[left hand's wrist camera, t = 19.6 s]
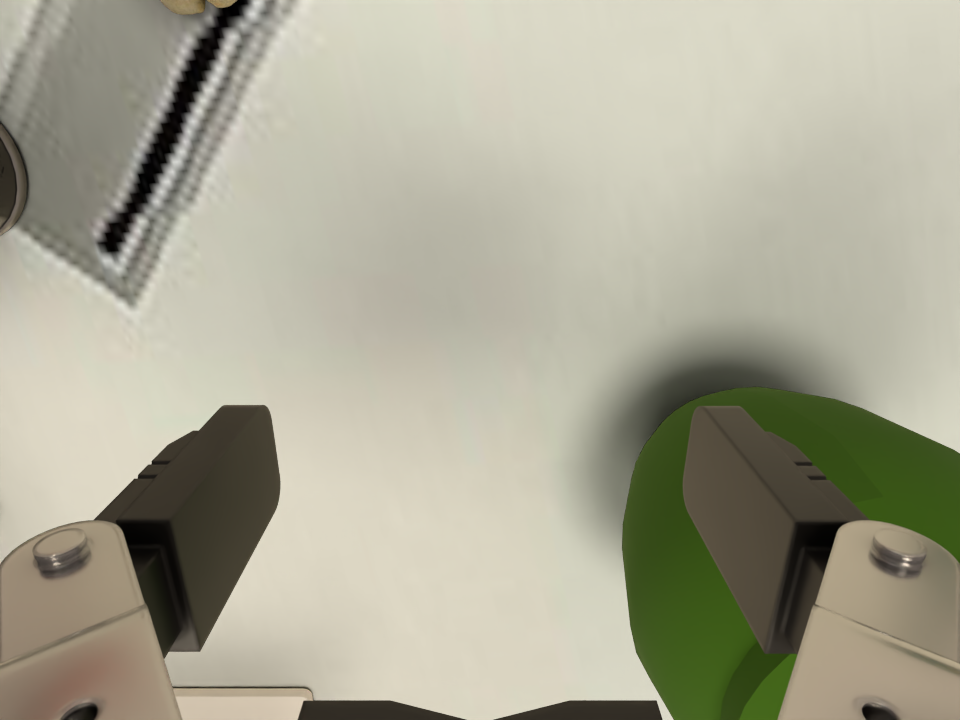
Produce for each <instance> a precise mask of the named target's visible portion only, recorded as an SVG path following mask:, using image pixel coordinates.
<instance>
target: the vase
mask: <svg viewBox="0 0 960 720" xmlns="http://www.w3.org/2000/svg"><path fill="white" fill-rule="evenodd" d="M698 406H740V407H742V408H743V409H744V410H745V411H746V412H747V413H748V414H749V415H750V416H751V417H752V418H753V420H754V421H755V422H756V423H757V424H758V425H759V426H760V427H761V428H762V429H763V430H764V431H765V432H772V433H774V434H775V435H777V436H779V437H781V438H783V439H784V440H786V441H788V442H790V443H791V444H793V445H795V446H796V447H797V448H798V449H799V450H800V451H801V452H802V453H803V454H804V455H805V456H806V457H807V458H808V459H809V460H810V461H811V462H812V465H813V466H816V467H817V468H818V469H819V470H820V471H821V472H822V473H823V474H824V475H825V476H826V479H827V480H830V481H831V482H832V483H833V484H834V485H835V486H836V487H837V488H838V489H839V490H840V491H841V492H842V493H843V494H844V495H845V496H846V497H847V498H848V499H849V500H850V501H851V502H852V503H853V504H854V505H855V506H856V507H857V508H858V509H859V510H860V511H861V512H862V513H863V514H864V515H865V516H866V517H867V518H868V519H869V520H871V521H880V522H885V523H890V524H894V525H897V526H901V527H904V528H907V529H909V530H912V531H914V532H917V533H919V534H921V535H923V536H925V537H927V538H929V539H931V540H933V541H934V542H936V543H937V544H939V545H940V546H942V547H943V548H944V549H946V550H947V551H948V552H949V553H950V554H951V555H953V556H954V557H955V559H956V560H957V561H958V562H959V564H960V453H958V452H956V451H955V450H953V449H951V448H949V447H946V446H944V445H942V444H940V443H938V442H935V441H933V440H931V439H929V438H926V437H924V436H922V435H920V434H918V433H915V432H913V431H911V430H909V429H907V428H904V427H902V426H900V425H898V424H895V423H893V422H891V421H889V420H887V419H884V418H882V417H880V416H878V415H876V414H873V413H871V412H869V411H867V410H864V409H862V408H860V407H857V406H854V405H851V404H848V403H845V402H842V401H839V400H836V399H831V398H825V397H820V396H814V395H808V394H802V393H797V392H791V391H785V390H779V389H771V388H763V387H747V388H734V389H730V390H726V391H721V392H717V393H713V394H709V395H705V396H702V397H700V398H697V399H695V400H692V401H690V402H688V403H686V404H685V405H683V406H681V407H680V408H678V409H677V410H675V411H674V412H673V413H672V414H671V415H669V416H668V417H667V418H666V419H665V420H664V421H663V422H662V423H661V425H660V426H659V427H658V428H657V430H656V431H655V432H654V434H653V435H652V436H651V437H650V439H649V440H648V441H647V443H646V444H645V445H644V447H643V449H642V451H641V453H640V455H639V457H638V459H637V461H636V464H635V468H634V471H633V475H632V479H631V484H630V489H629V494H628V500H627V505H626V510H625V515H624V521H623V535H622V551H623V561H624V570H625V580H626V589H627V599H628V608H629V617H630V626H631V631H632V635H633V640H634V644H635V649H636V653H637V655H638V657H639V659H640V661H641V663H642V664H643V666H644V668H645V670H646V672H647V674H648V676H649V678H650V679H651V681H652V683H653V685H654V686H655V688H656V690H657V691H658V693H659V695H660V697H661V698H662V700H663V702H664V703H665V705H666V707H667V709H668V710H669V712H670V714H671V716H672V717H673V719H674V720H778V716H779V713H780V710H781V707H782V703H783V700H784V697H785V694H786V691H787V687H788V684H789V681H790V678H791V674H792V671H793V668H794V665H795V661H796V658H797V654H765V653H764V652H763V650H762V648H761V646H760V644H759V642H758V641H757V639H756V637H755V635H754V633H753V631H752V629H751V628H750V626H749V624H748V622H747V620H746V618H745V617H744V615H743V613H742V611H741V609H740V607H739V606H738V604H737V602H736V600H735V598H734V596H733V594H732V593H731V591H730V589H729V587H728V585H727V583H726V582H725V580H724V578H723V576H722V574H721V572H720V571H719V569H718V567H717V565H716V563H715V561H714V560H713V558H712V556H711V554H710V552H709V550H708V548H707V547H706V545H705V543H704V541H703V539H702V537H701V536H700V534H699V532H698V530H697V528H696V526H695V525H694V523H693V521H692V519H691V517H690V515H689V513H688V511H687V509H686V506H685V502H684V496H683V475H684V468H685V462H686V455H687V448H688V441H689V434H690V428H691V421H692V416H693V413H694V411H695V409H696V408H697V407H698Z"/></svg>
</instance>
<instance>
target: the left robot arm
mask: <svg viewBox="0 0 960 720" xmlns="http://www.w3.org/2000/svg"><path fill="white" fill-rule="evenodd" d="M26 194H27V181H26V174H25V169H24V165H23V162H22V159H21V156H20V154H19V152H18V150H17V147H16V146H15V144H14V142H13V140H12V139H11V137H10V136H9V134H8V133H7V131H6V130H5V129H4V127H3V126H2V125H1V124H0V235H2V234H3V233H5V232H6V231H8V230H9V229H10V228H11V227H12V226H13V225H14V224H15V223H16V221H17V220H18V218H19V217H20V215H21V213H22V211H23V208H24V205H25V201H26ZM279 495H280V474H279V467H278V460H277V453H276V446H275V439H274V432H273V425H272V419H271V414H270V411H269V409H268V408H267V407H266V406H265V405H224V406H222V407H221V408H220V409H219V410H218V411H217V412H216V413H215V414H214V415H213V416H212V417H211V418H210V419H209V420H208V422H207V423H206V424H205V425H204V426H203V427H202V428H201V429H200V430H199V431H192V432H190V433H188V434H187V435H185V436H183V437H181V438H179V439H178V440H176V441H174V442H172V443H170V444H169V445H167V446H166V447H165V448H164V449H163V450H162V451H161V452H160V453H159V455H158V456H157V457H156V458H155V459H154V460H153V461H152V464H151V465H148V466H147V467H146V468H145V469H144V470H143V471H142V472H141V473H140V474H139V475H138V479H134V480H133V481H132V482H131V483H130V484H129V485H128V486H127V487H126V488H125V489H124V490H123V491H122V492H121V493H120V494H119V495H118V496H117V497H116V498H115V499H114V500H113V501H112V502H111V503H110V504H109V505H108V506H107V507H106V508H105V509H104V510H103V511H102V512H101V513H100V514H99V515H98V516H97V517H96V518H95V519H94V520H89V521H80V522H75V523H70V524H66V525H63V526H59V527H56V528H53V529H51V530H48V531H46V532H43V533H41V534H39V535H37V536H35V537H33V538H31V539H29V540H27V541H26V542H24V543H23V544H21V545H20V546H18V547H17V548H16V549H14V550H13V551H12V552H11V553H10V554H9V555H7V556H6V557H5V559H4V560H3V561H2V562H1V564H0V720H182V716H181V713H180V710H179V707H178V703H177V700H176V697H175V694H174V691H173V687H172V684H171V681H170V678H169V674H168V671H167V668H166V665H165V661H164V658H165V657H166V655H167V653H168V652H200V651H201V649H202V647H203V645H204V643H205V641H206V639H207V637H208V636H209V634H210V632H211V630H212V628H213V626H214V624H215V623H216V621H217V619H218V617H219V615H220V613H221V611H222V610H223V608H224V606H225V604H226V602H227V600H228V598H229V596H230V595H231V593H232V591H233V589H234V587H235V585H236V583H237V582H238V580H239V578H240V576H241V574H242V572H243V570H244V569H245V567H246V565H247V563H248V561H249V559H250V557H251V555H252V554H253V552H254V550H255V548H256V546H257V544H258V542H259V541H260V539H261V537H262V535H263V533H264V531H265V529H266V528H267V526H268V524H269V522H270V520H271V518H272V516H273V514H274V513H275V510H276V508H277V505H278V501H279ZM683 496H684V502H685V506H686V509H687V511H688V513H689V515H690V517H691V519H692V521H693V523H694V525H695V526H696V528H697V530H698V532H699V534H700V536H701V537H702V539H703V541H704V543H705V545H706V547H707V548H708V550H709V552H710V554H711V556H712V558H713V560H714V561H715V563H716V565H717V567H718V569H719V571H720V572H721V574H722V576H723V578H724V580H725V582H726V583H727V585H728V587H729V589H730V591H731V593H732V594H733V596H734V598H735V600H736V602H737V604H738V606H739V607H740V609H741V611H742V613H743V615H744V617H745V618H746V620H747V622H748V624H749V626H750V628H751V629H752V631H753V633H754V635H755V637H756V639H757V641H758V642H759V644H760V646H761V648H762V650H763V652H764V653H765V654H797V658H796V661H795V665H794V668H793V671H792V674H791V678H790V681H789V684H788V687H787V691H786V694H785V697H784V700H783V703H782V707H781V710H780V713H779V716H778V720H960V564H959V562H958V561H957V560H956V559H955V557H954V556H953V555H951V554H950V553H949V552H948V551H947V550H946V549H944V548H943V547H942V546H940V545H939V544H937V543H936V542H934V541H933V540H931V539H929V538H927V537H925V536H923V535H921V534H919V533H917V532H914V531H912V530H909V529H907V528H904V527H901V526H897V525H894V524H890V523H885V522H880V521H871V520H869V519H868V518H867V517H866V516H865V515H864V514H863V513H862V512H861V511H860V510H859V509H858V508H857V507H856V506H855V505H854V504H853V503H852V502H851V501H850V500H849V499H848V498H847V497H846V496H845V495H844V494H843V493H842V492H841V491H840V490H839V489H838V488H837V487H836V486H835V485H834V484H833V483H832V482H831V481H830V480H827V479H826V476H825V475H824V474H823V473H822V472H821V471H820V470H819V469H818V468H817V467H816V466H813V465H812V462H811V461H810V460H809V459H808V458H807V457H806V456H805V455H804V454H803V453H802V452H801V451H800V450H799V449H798V448H797V447H796V446H795V445H793V444H791V443H790V442H788V441H786V440H784V439H783V438H781V437H779V436H777V435H775V434H774V433H772V432H765V431H764V430H763V429H762V428H761V427H760V426H759V425H758V424H757V423H756V422H755V421H754V420H753V418H752V417H751V416H750V415H749V414H748V413H747V412H746V411H745V410H744V409H743V408H742V407H740V406H698V407H697V408H696V409H695V411H694V413H693V416H692V421H691V428H690V434H689V441H688V448H687V455H686V462H685V468H684V475H683ZM298 720H465V719H461V718H457V717H453V716H449V715H445V714H441V713H437V712H434V711H430V710H426V709H422V708H418V707H414V706H410V705H406V704H402V703H398V702H394V701H303V704H302V707H301V710H300V714H299V717H298ZM495 720H662V717H661V714H660V710H659V707H658V704H657V701H566V702H562V703H558V704H554V705H550V706H546V707H542V708H538V709H534V710H530V711H526V712H523V713H519V714H515V715H511V716H507V717H503V718H499V719H495Z"/></svg>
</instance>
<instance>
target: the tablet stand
mask: <svg viewBox="0 0 960 720" xmlns="http://www.w3.org/2000/svg"><path fill="white" fill-rule="evenodd" d="M173 691H174V694H175V697H176V700H177V703H178V707H179V710H180V713H181V716H182V720H298V717H299V714H300V710H301V707H302V704H303V701H313V697H312V693H311V692H310V691H309V690H307V689H304V688H173Z"/></svg>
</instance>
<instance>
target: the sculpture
mask: <svg viewBox="0 0 960 720" xmlns="http://www.w3.org/2000/svg"><path fill="white" fill-rule="evenodd" d="M160 1H161V2H162V3H163V4H164V5H165V6H166V7H167V8H168V9H169V10H171V11H172V12H174V13H176V14H181V15H185V14H195V13H202V12H204V9H205V0H160ZM207 1H209V2H210V3H211V4H213V5H214V6H215V7H217V8H224V7H229V6H231V5H232V4H233V3H235V2H236V1H237V0H207Z"/></svg>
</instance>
